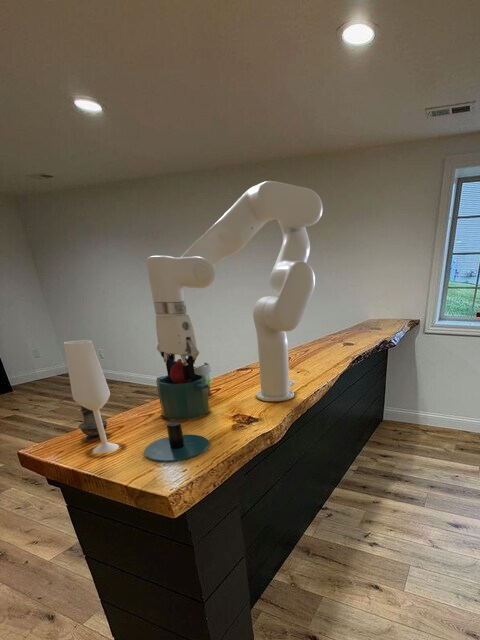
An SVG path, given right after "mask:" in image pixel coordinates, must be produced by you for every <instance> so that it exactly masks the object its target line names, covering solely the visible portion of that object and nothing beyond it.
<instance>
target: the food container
mask: <svg viewBox="0 0 480 640" xmlns="http://www.w3.org/2000/svg"><path fill="white" fill-rule="evenodd" d="M194 372H195V374H201V375H203V376H205V380H206V384H208V388H207V396H208V397H209V396H210V395H211V380H210V373H211V372H212V368H211V366H210V364H209V363H208V362H204V363H203V365H199V366H194Z"/></svg>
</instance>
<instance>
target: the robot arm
mask: <svg viewBox="0 0 480 640" xmlns="http://www.w3.org/2000/svg"><path fill="white" fill-rule="evenodd" d="M323 211H324V209H323V201H322V199H321V197H320V196H319V194H318V193H317V192H316V191H314V190H313V189H311V188H308V187H304V186H300V185H299V186H298V185H295V184H290V183H287V182H286V183H285V182H280V181H274V180H265V181H263V182H260V183H258V184H256V185H253V186H251V187H250V188H248V189H247V190H246V191H244V193H243V194H242V195H241V196H240V197H239V198H238V199H237V200H236V201H235V202H234V203H233V205H231V207H229V209H228V210H227V211H226V212H225V213H224V214H223V215H222V216H221V217H220V218H219V219H218V220H217V221H216V222H215V223H213V224H212V225H211V226H210V227H209V228H208V229H207V230H206V231H205V233H203V234H202V235H201V236H200V237H199V238H198V239H196V240H195V241H194V242H193V244H191V246H189V247H188V248H187V249H186V250H185V251H184V253H183V254H182V255H181V256H180V257H175V256H170V255H151V256H148V257H147V258H146V269H147V275H148V279H149V286H150V290H151V291H150V292H151V297H152V301H153V307H154V313H155V330H156V331H155V332H156V337H157V346H156V350H157V351H158V352H159V354H160V356H161V357H162V358H163V362H164V363H165V366H166V372H167V375H168V377H170V369H171V368H172V366H173V365H174V364H175V363H176V362H177V360H176V355H178V356H180V359H181V360H182V362H183V363H184V366H183V373H184V379H185V380H190V379H194V378H195V372H194V367H195V366H194V365H195V364H196V360H197V358H198V356H199V354H200V351H199V349H198V348H197V341H196V336H195V331H194V327H193V323H192V321H191V317H190V316H189V314H188V313H187V306H186V299H185V292H184V288H188V289H205V288H207V287H209V286H211V284H212V283H213V282H214V281H215V277H216V272H215V268H214V267H215V266H216V265H217V264H219V263H220V262H222V261H223V260H225V259H226V258H228V257H231V256H232V255H235V254H236V253H238V252H239V251H241V250H242V249H243V248H245V246H246V245H247V244H248V243H249V242H250V241H251V240H252V239H253V237H255V236H256V234H257V233H258V232H259V231H260V230H261V229H262V228H263V227H264V226H265V225H266V224H267V223H268V222H270V221H274V220H277V223H278V225H279V228H280V230H281V233H282V243H281V247H280V250H279V254H278V255H277V258H276V260H275V263H274V266H273V268H272V269H271V273H270V276H269V286H270V288H271V290H272V291H273V293H275V294H277V295H278V296H276V295H267V296H263V297H261V298H259V299H258V300H257V301H256V302H255V304H254V305H253V310H252V316H253V322H254V323H253V324H254V327H255V332H256V341H257V353H258V368H259V370H258V371H259V384H260V390H259V391H257V392H256V394H255V395H256V399H258V400H260V401H264V402H272V403H273V402H282V401H283V402H284V401H289V400H291V399H293V398H294V397H295V392H294V391H293V390H292V389H291V387H295V385H297V382H296V380H295V379H291V380H290V369H289V367H290V365H289V340H288V336H287V332H292V331H294V330H295V329H297V327H298V326H299V325H300V324H301V322H302V319H303V318H304V315H305V313H306V311H307V308H308V305H309V303H310V300H311V298H312V296H313V293H314V290H315V286H316V275H315V272H314V269H313V267H312V266H311V265H310V264H309V263H308V260H309V256H310V251H311V243H310V242H311V241H310V238H309V235H308V231H307V227H311V226H313V225H316V224H317V223H318V222H319V220H320V219H321V217H322V215H323Z"/></svg>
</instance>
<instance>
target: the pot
mask: <svg viewBox="0 0 480 640" xmlns="http://www.w3.org/2000/svg"><path fill="white" fill-rule="evenodd" d="M156 387H157V393H158V399H159V403H160V408H161V409H160V410H161V414H162V416H163V417H164V418H165V419H168V420H174V421H182V420H191V419H192V420H193V419H196V418H200V417H202V416H203V417H204V416H205V415H207V414H209V412H210V405H209V395H208V396H207V388H208V384H206V380H205V376H203V375H201V374H195V378H194V379H191V381H190V382H189V383H179V384H175V383H174V382H173V381H172V380H171V377H168V374H167V375H163V376H159V377H156Z"/></svg>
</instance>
